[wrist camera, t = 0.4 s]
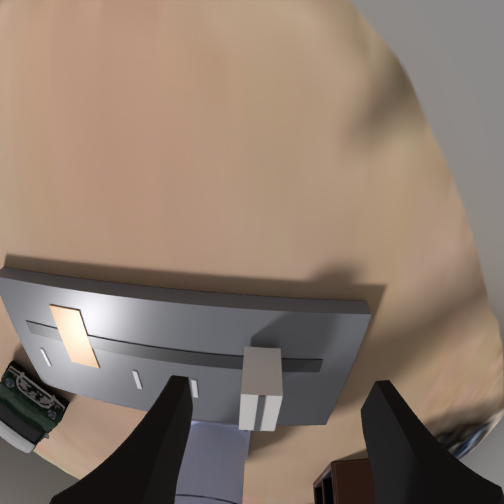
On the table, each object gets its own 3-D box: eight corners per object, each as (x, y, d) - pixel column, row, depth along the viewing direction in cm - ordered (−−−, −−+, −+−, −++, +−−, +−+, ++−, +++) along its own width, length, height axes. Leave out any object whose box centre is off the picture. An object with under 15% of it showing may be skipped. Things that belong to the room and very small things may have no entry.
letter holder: (330, 460, 33) (339, 550, 21) (445, 443, 33) (466, 513, 21) (312, 482, 38) (316, 556, 25) (416, 468, 38) (430, 531, 26)
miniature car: (74, 396, 29) (51, 449, 22) (48, 426, 35) (31, 463, 28) (15, 351, 26) (-17, 399, 19) (4, 394, 33) (-15, 429, 25)
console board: (324, 412, 27) (325, 425, 25) (48, 374, 27) (43, 383, 25) (366, 300, 20) (372, 315, 19) (3, 267, 20) (-8, 276, 19)
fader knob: (273, 387, 22) (274, 432, 18) (241, 385, 22) (238, 430, 18) (280, 348, 20) (282, 397, 16) (244, 346, 20) (240, 395, 16)
